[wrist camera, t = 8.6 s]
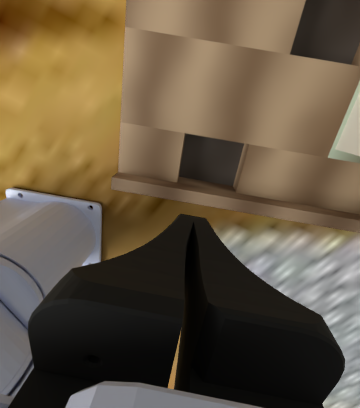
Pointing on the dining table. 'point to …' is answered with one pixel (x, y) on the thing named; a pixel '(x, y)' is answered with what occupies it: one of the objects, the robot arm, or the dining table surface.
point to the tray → (242, 106)
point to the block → (351, 132)
